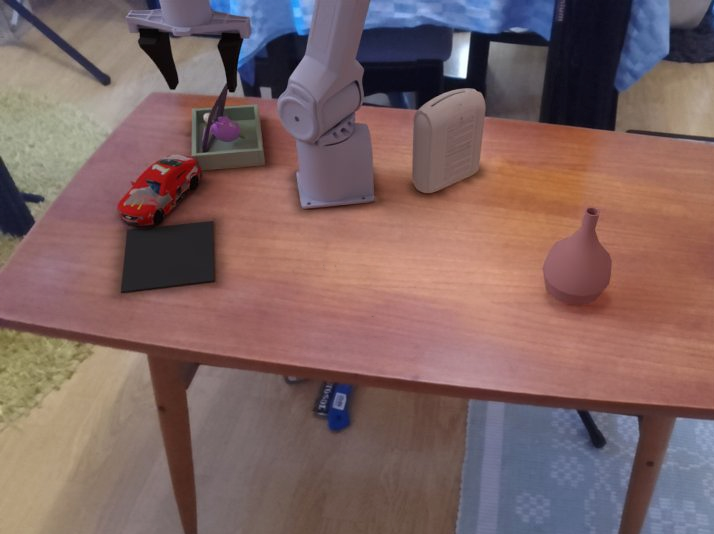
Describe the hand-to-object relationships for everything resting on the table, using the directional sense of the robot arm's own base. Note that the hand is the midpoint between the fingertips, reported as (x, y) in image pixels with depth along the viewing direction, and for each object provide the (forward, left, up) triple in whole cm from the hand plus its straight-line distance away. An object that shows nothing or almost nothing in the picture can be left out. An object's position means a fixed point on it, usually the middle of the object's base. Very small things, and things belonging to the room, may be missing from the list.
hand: (203, 87), depth 90 cm
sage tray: (-2, 0, -8) cm, 9 cm away
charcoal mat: (+6, +23, -8) cm, 26 cm away
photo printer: (-30, +13, -9) cm, 34 cm away
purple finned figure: (-2, 0, -8) cm, 8 cm away
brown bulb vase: (-39, +38, -9) cm, 56 cm away
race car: (+7, +12, -8) cm, 16 cm away
